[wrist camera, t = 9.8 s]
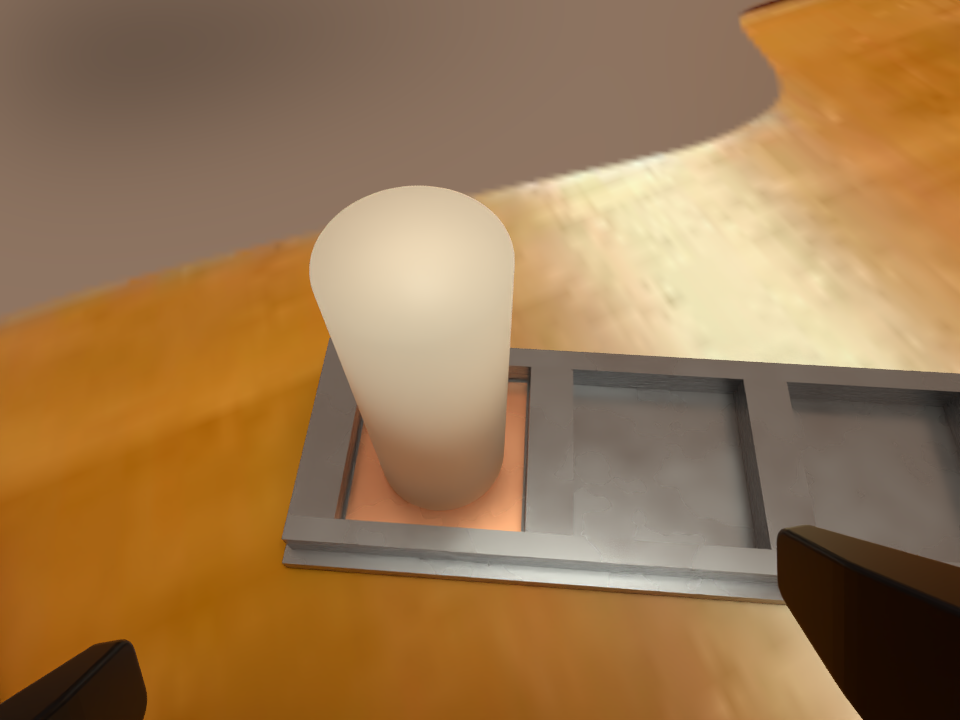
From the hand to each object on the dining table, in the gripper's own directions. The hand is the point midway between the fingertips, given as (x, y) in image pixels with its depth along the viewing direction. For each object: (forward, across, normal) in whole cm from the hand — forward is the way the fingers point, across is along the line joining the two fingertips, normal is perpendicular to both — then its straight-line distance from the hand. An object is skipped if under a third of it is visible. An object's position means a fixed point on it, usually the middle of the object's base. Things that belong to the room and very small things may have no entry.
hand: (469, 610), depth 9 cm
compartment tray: (+14, -8, +5) cm, 17 cm away
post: (+15, 0, +3) cm, 15 cm away
